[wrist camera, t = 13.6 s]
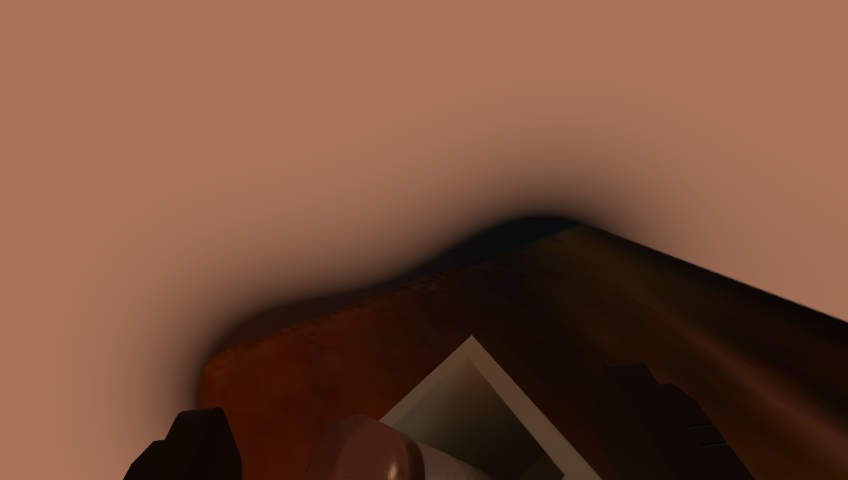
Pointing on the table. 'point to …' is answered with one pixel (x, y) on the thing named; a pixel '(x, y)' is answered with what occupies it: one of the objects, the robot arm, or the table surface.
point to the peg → (382, 455)
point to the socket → (486, 421)
